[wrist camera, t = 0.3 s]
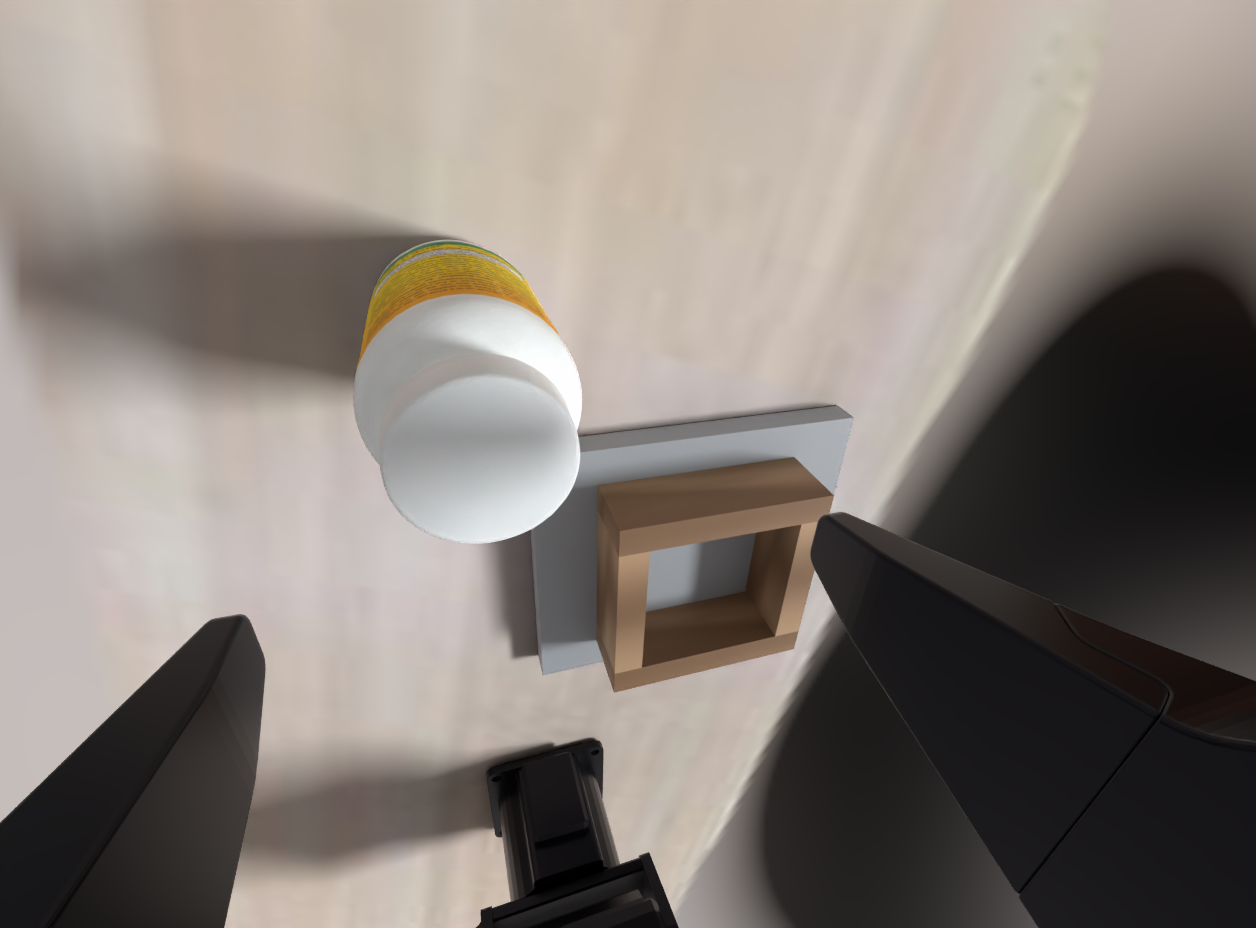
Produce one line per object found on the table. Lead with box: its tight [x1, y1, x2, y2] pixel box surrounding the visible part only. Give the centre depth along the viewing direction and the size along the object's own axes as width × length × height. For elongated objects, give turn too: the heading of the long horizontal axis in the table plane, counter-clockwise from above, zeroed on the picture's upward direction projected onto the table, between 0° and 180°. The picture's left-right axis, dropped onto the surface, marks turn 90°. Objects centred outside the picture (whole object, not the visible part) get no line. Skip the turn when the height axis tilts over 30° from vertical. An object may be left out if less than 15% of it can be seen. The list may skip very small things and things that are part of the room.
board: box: [530, 406, 854, 675], centre depth 28 cm, size 12×14×1 cm
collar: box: [596, 457, 834, 692], centre depth 26 cm, size 9×9×3 cm
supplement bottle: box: [353, 240, 582, 544], centre depth 16 cm, size 5×5×10 cm
